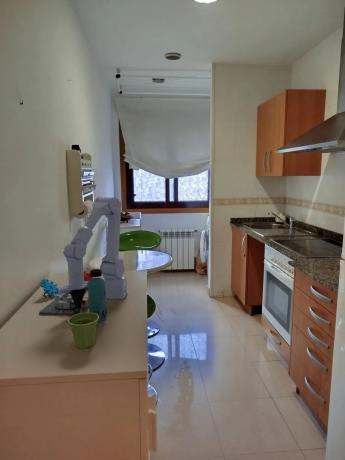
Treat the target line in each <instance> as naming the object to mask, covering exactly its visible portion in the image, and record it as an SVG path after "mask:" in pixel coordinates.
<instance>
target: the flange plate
mask: <svg viewBox="0 0 345 460" xmlns="http://www.w3.org/2000/svg"><path fill="white" fill-rule="evenodd" d="M83 298H88V296H87V297H85V296H84V297H83ZM87 310H89V306H88V307H81V308H78V309H77V308H76V307H75V308H70V309H59V308H56V307H55V304H54V300H53V301H51V302H50V303H49V304H47V305H46V306H45V307H43V308H42V309H41V310H40V311H39V312H38V315H41V316H42V315H45V316H49V315H50V316H70V317H71V316H73V315H76V314H79V313H85V312H87Z"/></svg>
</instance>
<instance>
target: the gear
mask: <svg viewBox="0 0 345 460" xmlns="http://www.w3.org/2000/svg"><path fill="white" fill-rule="evenodd" d="M39 283H40V284H41V285H40V287H41V288H43V289H42V290H43V291H44V292H43V293H42V295H43V294H44V295H45V294H46V295H48V296H50V295H51V297H54V298H55V296H54V295H58V289H59V287H58V282H56V283H55V284H54V280H51V281H50V279H48V278H47V279H46V278H44V279H42V280H41V281H40V282H39ZM46 295H45V296H46Z"/></svg>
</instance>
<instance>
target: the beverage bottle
mask: <svg viewBox="0 0 345 460" xmlns="http://www.w3.org/2000/svg"><path fill="white" fill-rule="evenodd" d="M89 272H90V277H93V278H92V279H90V280H89V281H88V283H87V285H88V287H87V297H88V300H89V308H88V312H91V313H96V314H98V315H99V320H98V323H97V324H102V323H104V322H106V321H107V319H108V309H107V307H108V306H107V299H106V291H105V289H106V288H105V281H104V278H101V277H103V274H102V273H101V270H100V268H94V269H90V270H89Z"/></svg>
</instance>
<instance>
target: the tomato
mask: <svg viewBox="0 0 345 460" xmlns="http://www.w3.org/2000/svg"><path fill="white" fill-rule="evenodd" d="M92 278H94V277H90V271H86V270H84V282H86V281H89V280H90V279H92ZM84 289H85V290H86V289H88V287H86V288H84Z"/></svg>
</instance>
